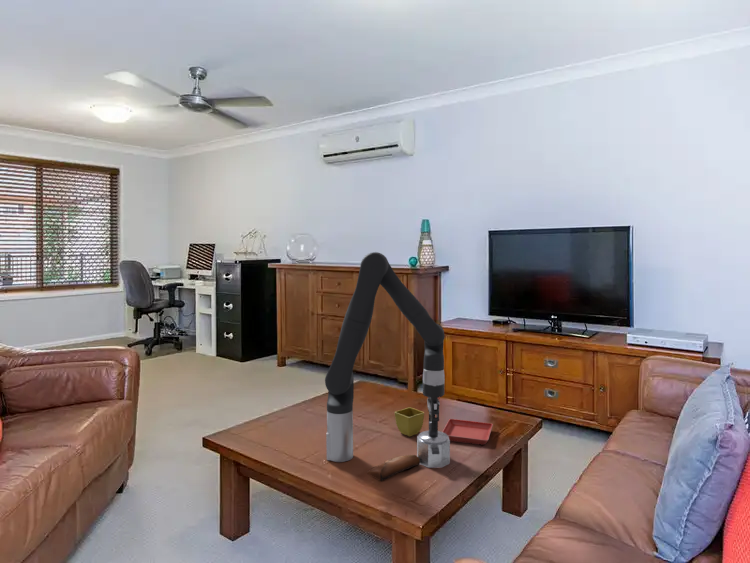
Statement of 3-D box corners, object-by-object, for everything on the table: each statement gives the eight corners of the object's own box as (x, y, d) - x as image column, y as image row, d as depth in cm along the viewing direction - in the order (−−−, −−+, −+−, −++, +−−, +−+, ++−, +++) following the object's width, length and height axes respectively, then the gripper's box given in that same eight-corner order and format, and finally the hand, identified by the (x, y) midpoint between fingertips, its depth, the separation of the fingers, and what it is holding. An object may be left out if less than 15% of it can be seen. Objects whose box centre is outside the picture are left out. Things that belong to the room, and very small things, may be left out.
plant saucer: (488, 448, 187) (488, 439, 187) (440, 442, 193) (440, 434, 193) (493, 431, 204) (493, 423, 204) (449, 426, 210) (449, 418, 210)
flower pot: (408, 439, 195) (408, 417, 194) (394, 433, 202) (393, 411, 201) (424, 434, 201) (424, 412, 200) (409, 428, 207) (409, 406, 207)
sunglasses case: (402, 457, 179) (409, 444, 176) (414, 472, 175) (422, 460, 172) (364, 473, 167) (371, 459, 164) (376, 490, 163) (384, 476, 160)
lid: (420, 448, 171) (420, 427, 170) (417, 437, 181) (418, 416, 180) (449, 448, 171) (449, 427, 170) (445, 437, 181) (445, 416, 180)
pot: (419, 471, 168) (419, 448, 167) (415, 450, 185) (415, 429, 184) (452, 471, 168) (452, 448, 167) (445, 450, 185) (445, 429, 184)
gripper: (421, 376, 181) (420, 419, 182) (424, 387, 167) (424, 434, 168) (441, 376, 181) (441, 419, 182) (447, 387, 167) (446, 434, 168)
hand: (433, 426), depth 175 cm, fingers open, 8 cm apart
